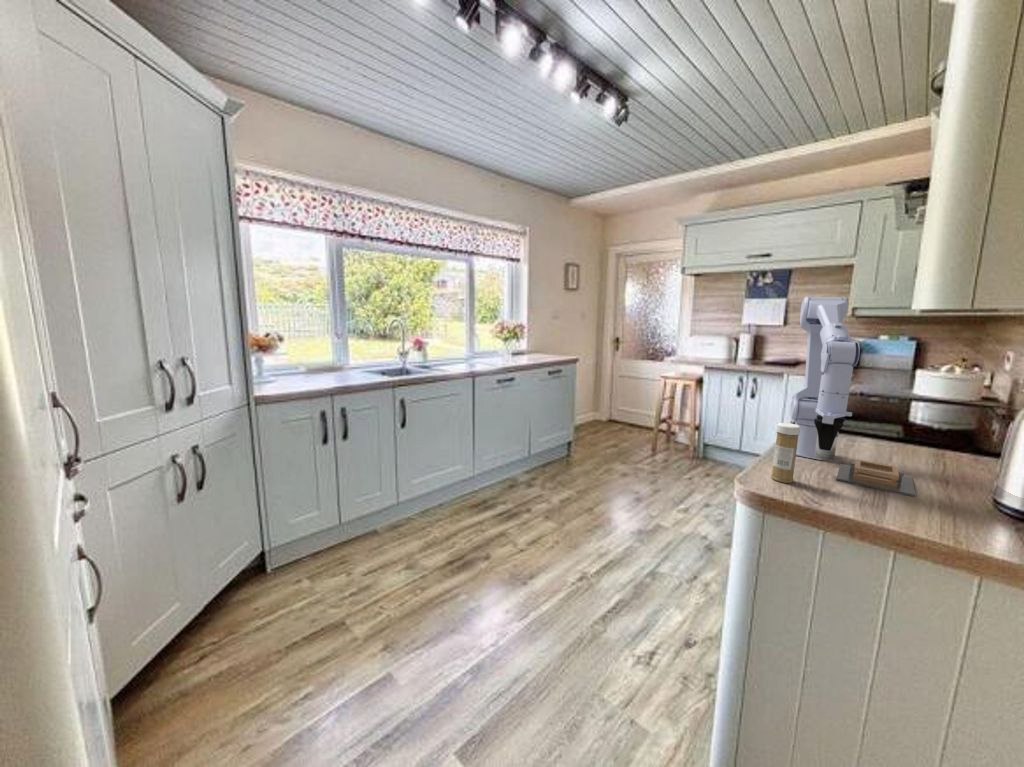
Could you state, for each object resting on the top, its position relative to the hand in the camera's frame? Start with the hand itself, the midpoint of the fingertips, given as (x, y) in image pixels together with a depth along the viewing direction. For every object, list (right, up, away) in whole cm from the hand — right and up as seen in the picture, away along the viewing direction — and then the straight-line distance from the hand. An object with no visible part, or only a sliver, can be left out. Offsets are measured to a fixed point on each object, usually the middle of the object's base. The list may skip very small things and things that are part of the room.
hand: (825, 447), depth 106 cm
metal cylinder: (0, -2, 0) cm, 2 cm away
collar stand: (+11, -8, 0) cm, 14 cm away
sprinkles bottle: (-12, -8, -2) cm, 14 cm away
